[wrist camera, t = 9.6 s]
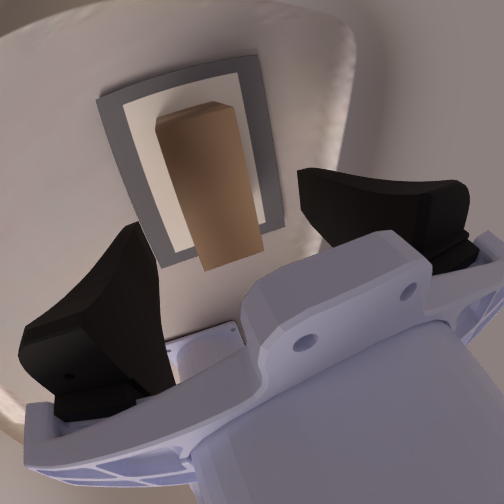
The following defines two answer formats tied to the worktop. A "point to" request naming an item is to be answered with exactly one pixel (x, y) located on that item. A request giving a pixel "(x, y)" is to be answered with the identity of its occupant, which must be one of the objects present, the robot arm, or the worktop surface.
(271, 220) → the mat
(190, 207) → the block
